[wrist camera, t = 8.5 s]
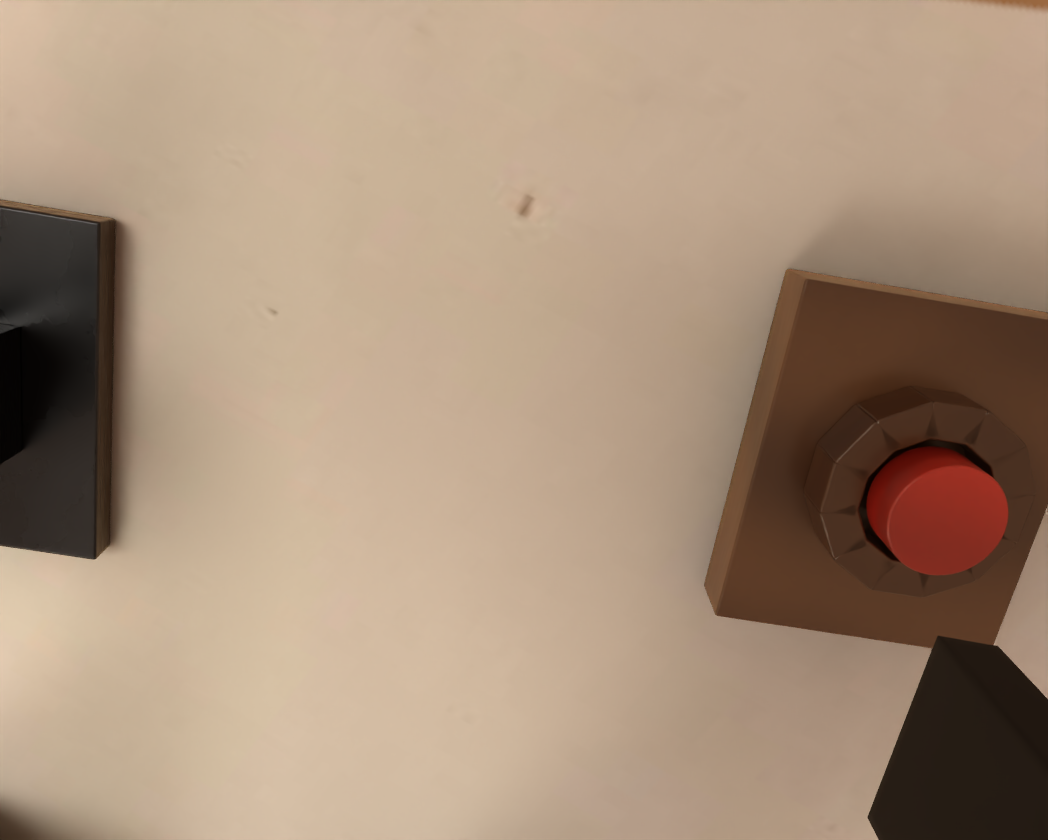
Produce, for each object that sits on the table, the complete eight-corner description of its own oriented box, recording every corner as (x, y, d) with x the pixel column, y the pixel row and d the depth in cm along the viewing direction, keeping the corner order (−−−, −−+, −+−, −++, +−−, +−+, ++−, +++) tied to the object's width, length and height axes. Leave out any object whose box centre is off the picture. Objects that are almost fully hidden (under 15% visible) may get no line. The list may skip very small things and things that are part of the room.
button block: (785, 267, 29) (825, 288, 25) (1074, 316, 29) (1156, 344, 25) (703, 585, 32) (726, 645, 29) (960, 624, 33) (1016, 688, 29)
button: (884, 436, 27) (908, 456, 25) (996, 455, 27) (1027, 476, 25) (851, 541, 28) (871, 567, 26) (959, 557, 28) (986, 584, 26)
